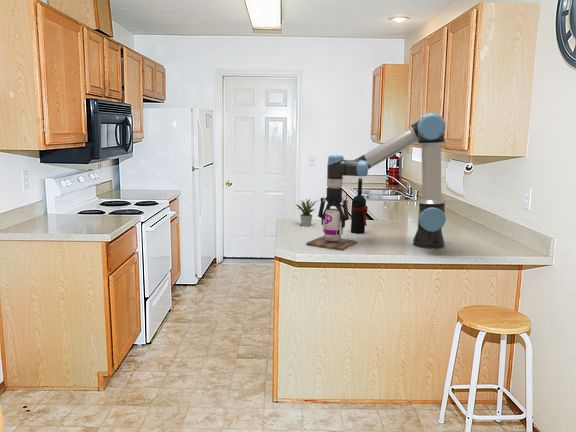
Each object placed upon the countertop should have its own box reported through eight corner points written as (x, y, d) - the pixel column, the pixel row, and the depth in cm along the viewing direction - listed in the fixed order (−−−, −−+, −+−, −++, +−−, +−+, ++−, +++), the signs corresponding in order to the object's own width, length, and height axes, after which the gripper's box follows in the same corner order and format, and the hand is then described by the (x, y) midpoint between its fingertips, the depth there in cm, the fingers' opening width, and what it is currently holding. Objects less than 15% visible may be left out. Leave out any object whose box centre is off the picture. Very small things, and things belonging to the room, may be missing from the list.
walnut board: (357, 243, 258) (357, 240, 258) (342, 250, 242) (342, 248, 242) (323, 238, 268) (323, 235, 267) (306, 245, 251) (306, 242, 251)
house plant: (314, 222, 309) (315, 195, 306) (323, 227, 296) (324, 199, 293) (292, 223, 305) (293, 196, 302) (300, 228, 292) (301, 199, 289)
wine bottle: (360, 235, 276) (363, 179, 271) (347, 231, 284) (350, 177, 279) (370, 233, 281) (373, 179, 275) (358, 230, 289) (360, 177, 284)
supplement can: (329, 241, 249) (330, 211, 246) (321, 238, 257) (322, 208, 254) (343, 240, 252) (345, 210, 250) (335, 237, 260) (336, 207, 257)
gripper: (311, 186, 252) (310, 231, 256) (351, 189, 241) (349, 236, 245) (318, 184, 258) (317, 229, 262) (357, 188, 248) (355, 234, 252)
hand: (332, 232), depth 254 cm, fingers open, 8 cm apart
